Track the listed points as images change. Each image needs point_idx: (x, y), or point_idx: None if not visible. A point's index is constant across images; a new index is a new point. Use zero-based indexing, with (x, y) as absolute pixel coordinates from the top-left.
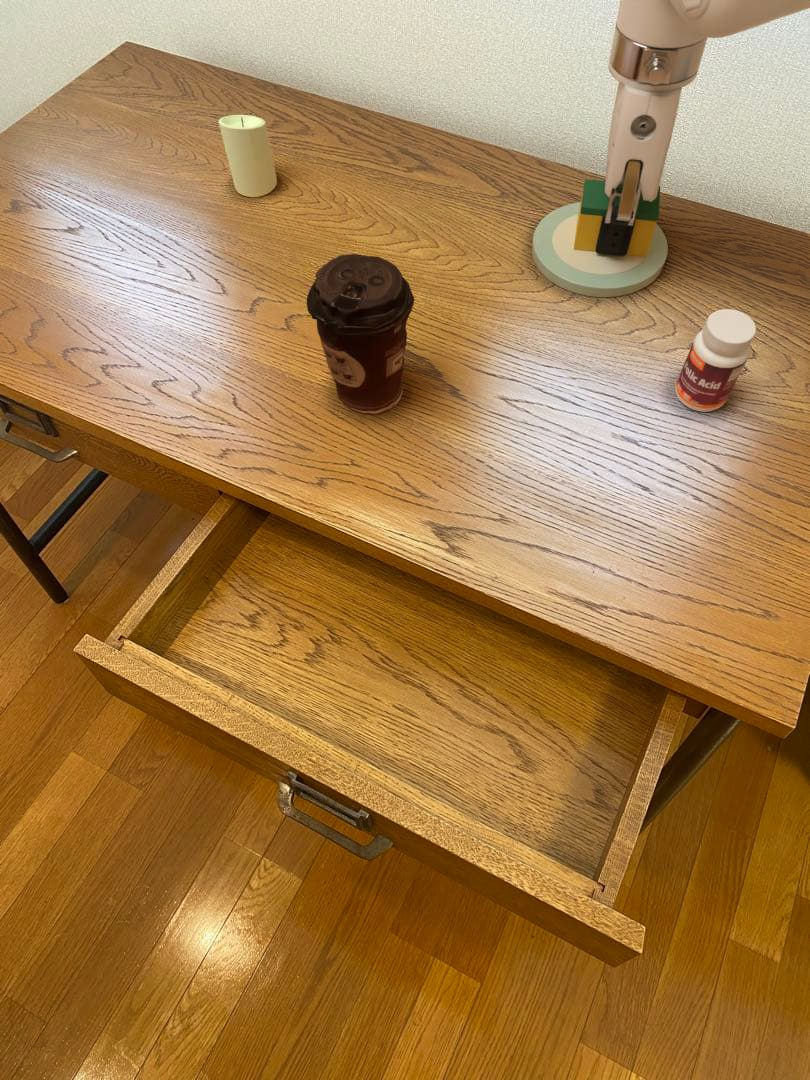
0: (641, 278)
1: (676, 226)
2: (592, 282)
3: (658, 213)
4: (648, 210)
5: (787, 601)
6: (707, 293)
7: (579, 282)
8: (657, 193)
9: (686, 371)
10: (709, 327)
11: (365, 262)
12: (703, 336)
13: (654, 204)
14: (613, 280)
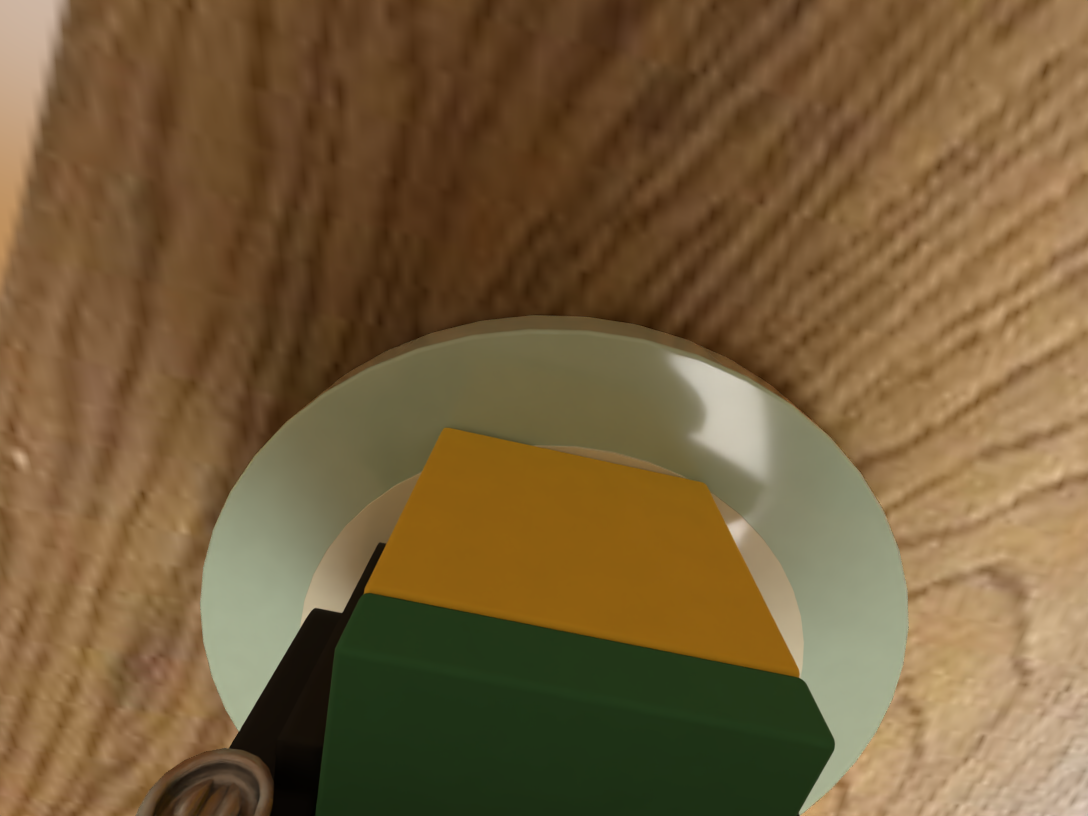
0: (871, 533)
1: (331, 185)
2: (838, 739)
3: (827, 750)
4: (754, 813)
5: None
6: (998, 120)
7: (822, 781)
8: (479, 698)
9: None
10: None
11: None
12: None
13: (671, 757)
14: (852, 661)
